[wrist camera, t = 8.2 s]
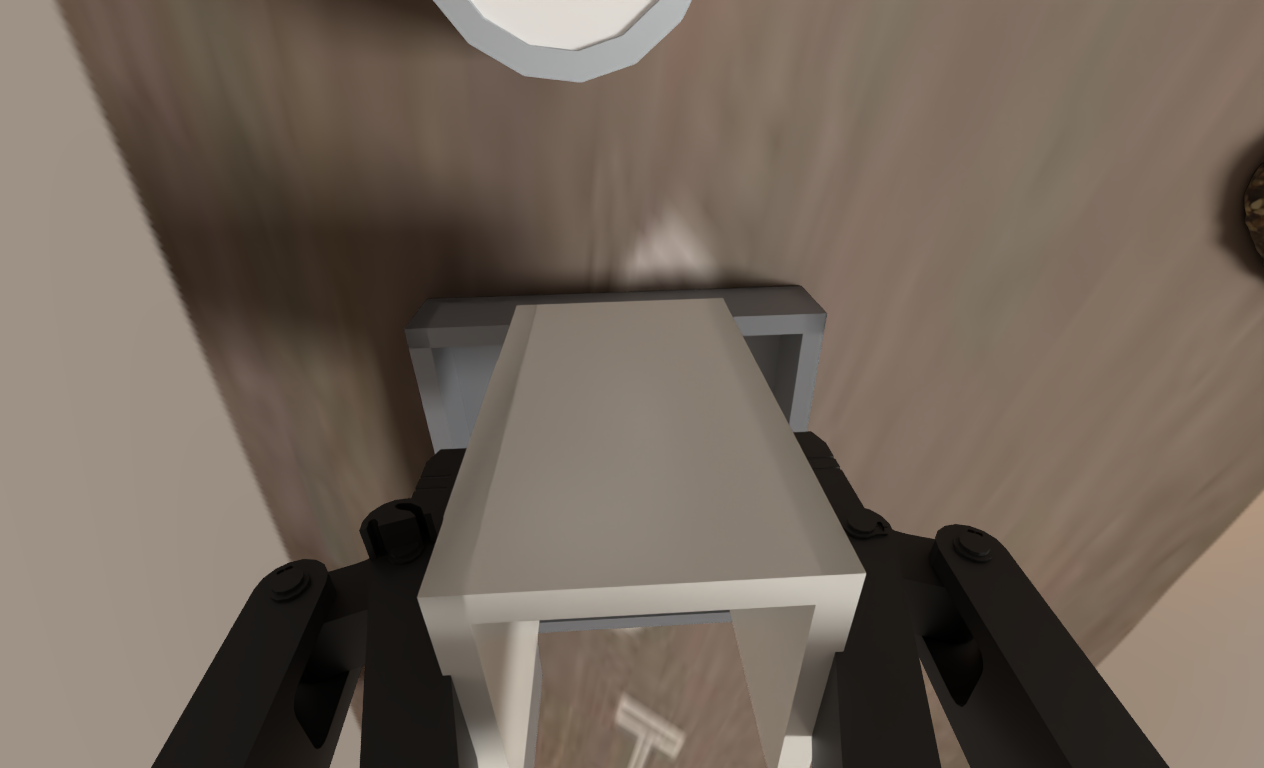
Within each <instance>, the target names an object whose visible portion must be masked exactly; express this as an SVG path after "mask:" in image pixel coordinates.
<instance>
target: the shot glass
mask: <svg viewBox="0 0 1264 768" xmlns="http://www.w3.org/2000/svg"><path fill="white" fill-rule="evenodd" d="M433 1H434V2H435V3H436V5H437V6H438V7H439V8H440V9H441V11H442V12H443V13H444V14H445V16H446V17H447V18H448V19H449V20H450V22H451V23H452V24H453V25H454V26H455V28H456V29H457V30H458V31H459V33H460V34H461V35H462V36H463V37H464V39H465V40H466V41H467V42H468V43H469V44H470V45H472V46H474V47H475V48H477V49H479V50H480V51H482V52H484V53H486V54H487V55H489V56H491V57H492V58H494V59H496V60H498V61H499V62H501V63H503V64H504V65H506V66H508V67H509V68H511V69H513V70H515V71H516V72H518V73H520V74H521V75H523V76H529V77H538V78H546V79H555V80H564V81H572V82H584V81H587V80H590V79H593V78H596V77H599V76H602V75H605V74H608V73H610V72H613V71H616V70H619V69H622V68H625V67H628V66H631V65H634V64H636V63H637V62H638V61H639V60H640V59H641V58H642V57H643V56H645V55H646V54H647V53H648V52H649V51H650V50H651V49H652V48H653V47H654V46H655V45H656V44H657V43H658V42H659V41H660V40H662V39H663V38H664V37H665V36H666V35H667V34H668V33H669V32H670V31H671V30H672V29H673V28H674V27H675V26H676V25H677V24H679V23H680V22H681V21H682V19H683V17H684V15H685V13H686V11H687V9H688V7H689V5H690V3H691V0H433Z"/></svg>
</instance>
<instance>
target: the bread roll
mask: <svg viewBox="0 0 1264 768" xmlns="http://www.w3.org/2000/svg"><path fill="white" fill-rule="evenodd" d="M1244 204H1245V211H1246V218H1245V223H1246V224H1247V226H1248V228H1249V231H1250V235H1251V237H1252V239H1253V241H1254V244H1255V247H1256V250H1257V251H1258V252H1259V254H1260V255H1261V256H1262V257H1263V258H1264V162H1263V163H1262V164H1261V165H1260V167H1259V168H1258V169H1257V171H1256V172H1255V174H1254V175H1253V177H1252V179H1251V181H1250V184H1249V186H1248V188H1247V190H1246V192H1245V195H1244ZM1263 266H1264V261H1263Z"/></svg>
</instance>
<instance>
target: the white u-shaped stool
mask: <svg viewBox="0 0 1264 768" xmlns="http://www.w3.org/2000/svg"><path fill="white" fill-rule="evenodd" d="M865 577H866V571H865V570H864V568H863V566H862V564H861V562H860V560H859V558H858V556H857V554H856V552H855V550H854V548H853V547H852V545H851V543H850V541H849V539H848V537H847V535H846V533H845V531H844V529H843V527H842V525H841V524H840V522H839V520H838V518H837V516H836V514H835V512H834V510H833V508H832V506H831V504H830V502H829V501H828V499H827V497H826V495H825V493H824V491H823V489H822V487H821V485H820V483H819V481H818V479H817V478H816V476H815V474H814V472H813V470H812V468H811V466H810V464H809V462H808V460H807V458H806V456H805V455H804V453H803V451H802V449H801V447H800V445H799V443H798V441H797V439H796V437H795V435H794V433H793V432H792V430H791V428H790V426H789V424H788V422H787V420H786V418H785V416H784V414H783V412H782V411H781V409H780V407H779V405H778V403H777V401H776V399H775V397H774V395H773V393H772V391H771V389H770V388H769V386H768V384H767V382H766V380H765V378H764V376H763V374H762V372H761V370H760V368H759V366H758V365H757V363H756V361H755V359H754V357H753V355H752V353H751V351H750V349H749V347H748V345H747V343H746V342H745V340H744V338H743V336H742V334H741V332H740V330H739V328H738V326H737V324H736V322H735V320H734V319H733V317H732V315H731V313H730V311H729V309H728V307H727V305H726V303H725V301H724V299H723V298H708V299H681V300H653V301H625V302H597V303H570V304H542V305H517V306H516V309H515V312H514V315H513V318H512V321H511V324H510V327H509V330H508V333H507V335H506V338H505V341H504V344H503V347H502V350H501V353H500V356H499V359H498V362H497V365H496V368H495V371H494V374H493V376H492V379H491V382H490V385H489V388H488V391H487V394H486V397H485V400H484V403H483V406H482V409H481V412H480V415H479V417H478V420H477V423H476V426H475V429H474V432H473V435H472V438H471V441H470V444H469V447H468V450H467V453H466V456H465V458H464V461H463V464H462V467H461V470H460V473H459V476H458V479H457V482H456V485H455V488H454V491H453V494H452V497H451V499H450V502H449V505H448V508H447V511H446V514H445V517H444V520H443V523H442V526H441V529H440V532H439V535H438V537H437V540H436V543H435V546H434V549H433V552H432V555H431V558H430V561H429V564H428V567H427V570H426V573H425V576H424V578H423V581H422V584H421V587H420V590H419V593H418V596H417V599H418V602H419V605H420V608H421V611H422V614H423V617H424V620H425V623H426V626H427V629H428V633H429V636H430V639H431V642H432V645H433V648H434V651H435V654H436V657H437V660H438V663H439V666H440V669H441V672H442V675H443V676H444V675H451V677H452V680H453V683H454V687H455V690H456V693H457V696H458V699H459V702H460V705H461V709H462V712H463V715H464V718H465V721H466V724H467V727H468V731H469V734H470V737H471V740H472V743H473V746H474V749H475V753H476V756H477V760H478V768H524V758H525V749H526V740H527V731H528V722H529V712H530V703H531V694H532V685H533V675H534V666H535V657H536V648H537V638H538V629H539V620H553V619H571V618H589V617H607V616H625V615H643V614H660V613H678V612H696V611H714V610H730V614H731V618H732V622H733V626H734V631H735V635H736V639H737V643H738V648H739V652H740V656H741V660H742V664H743V669H744V673H745V677H746V681H747V686H748V690H749V694H750V698H751V702H752V707H753V711H754V715H755V719H756V723H757V728H758V732H759V736H760V740H761V745H762V749H763V753H764V757H765V761H766V766H767V768H809V767H810V763H811V760H812V733H813V729H814V726H815V722H816V719H817V715H818V712H819V708H820V704H821V701H822V697H823V694H824V690H825V687H826V683H827V680H828V676H829V673H830V669H831V665H832V662H833V658H834V655H835V652H843V651H844V648H845V644H846V641H847V638H848V634H849V631H850V627H851V624H852V621H853V617H854V614H855V611H856V607H857V604H858V600H859V597H860V594H861V590H862V587H863V583H864V580H865Z"/></svg>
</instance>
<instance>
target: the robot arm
mask: <svg viewBox="0 0 1264 768" xmlns="http://www.w3.org/2000/svg"><path fill="white" fill-rule="evenodd" d="M497 362H498V361H497ZM497 362H496V365H497ZM496 365H495V368H496ZM495 368H494V371H495ZM494 371H493V374H494ZM493 374H492V376H493ZM492 376H491V379H492ZM491 379H490V382H491ZM490 382H489V385H490ZM489 385H488V388H489ZM488 388H487V391H488ZM487 391H486V394H487ZM486 394H485V397H486ZM485 397H484V400H485ZM484 400H483V403H484ZM483 403H482V406H483ZM482 406H481V408H480V411H479V414H478V417H479V415H480V412H481V409H482ZM478 417H477V420H478ZM477 420H476V423H477ZM476 423H475V426H476ZM475 426H474V429H475ZM474 429H473V432H474ZM473 432H472V435H473ZM793 433H794V435H795V437H796V439H797V441H798V443H799V445H800V447H801V449H802V451H803V453H804V455H805V456H806V458H807V460H808V462H809V464H810V466H811V468H812V470H813V472H814V474H815V476H816V478H817V479H818V481H819V483H820V485H821V487H822V489H823V491H824V493H825V495H826V497H827V499H828V501H829V502H830V504H831V506H832V508H833V510H834V512H835V514H836V516H837V518H838V520H839V522H840V524H841V525H842V527H843V529H844V531H845V533H846V535H847V537H848V539H849V541H850V543H851V545H852V547H853V548H854V550H855V552H856V554H857V556H858V558H859V560H860V562H861V564H862V566H863V568H864V570H865V571H866V577H865V580H864V583H863V587H862V590H861V594H860V597H859V600H858V604H857V607H856V611H855V614H854V617H853V621H852V624H851V627H850V631H849V634H848V638H847V641H846V644H845V648H844V651H843V652H835V655H834V658H833V662H832V665H831V669H830V673H829V676H828V680H827V683H826V687H825V690H824V694H823V697H822V701H821V704H820V708H819V712H818V715H817V719H816V722H815V726H814V729H813V733H812V768H941V764H940V759H939V754H938V749H937V744H936V739H935V734H934V729H933V724H932V719H931V714H930V709H929V704H928V699H927V694H926V690H925V685H924V680H923V675H922V670H921V665H920V660H921V662H922V664H923V666H924V669H925V671H926V673H927V675H928V677H929V679H930V681H931V684H932V686H933V688H934V690H935V692H936V694H937V696H938V699H939V701H940V703H941V705H942V707H943V709H944V712H945V714H946V716H947V718H948V720H949V722H950V724H951V727H952V729H953V731H954V733H955V735H956V737H957V740H958V742H959V744H960V746H961V748H962V750H963V752H964V755H965V757H966V759H967V761H968V763H969V765H970V767H971V768H1169V766H1168V765H1167V764H1166V762H1165V761H1164V760H1163V758H1162V757H1161V756H1160V754H1159V753H1158V752H1157V750H1156V749H1155V748H1154V746H1153V745H1152V744H1151V742H1150V741H1149V740H1148V738H1147V737H1146V736H1145V734H1144V733H1143V732H1142V730H1141V729H1140V727H1139V726H1138V725H1137V724H1136V722H1135V721H1134V719H1133V718H1132V717H1131V715H1130V714H1129V713H1128V711H1127V710H1126V709H1125V707H1124V706H1123V705H1122V703H1121V702H1120V701H1119V699H1118V698H1117V697H1116V695H1115V694H1114V693H1113V691H1112V690H1111V689H1110V687H1109V686H1108V685H1107V683H1106V682H1105V681H1104V679H1103V678H1102V677H1101V675H1100V674H1099V673H1098V671H1097V670H1096V669H1095V667H1094V666H1093V665H1092V663H1091V662H1090V661H1089V659H1088V658H1087V656H1086V655H1085V654H1084V652H1083V651H1082V650H1081V648H1080V647H1079V646H1078V644H1077V643H1076V642H1075V640H1074V639H1073V638H1072V636H1071V635H1070V634H1069V632H1068V631H1067V630H1066V628H1065V627H1064V626H1063V624H1062V623H1061V622H1060V620H1059V619H1058V618H1057V616H1056V615H1055V614H1054V612H1053V611H1052V610H1051V608H1050V607H1049V606H1048V604H1047V603H1046V602H1045V600H1044V599H1043V598H1042V596H1041V595H1040V594H1039V592H1038V591H1037V590H1036V588H1035V587H1034V585H1033V584H1032V583H1031V581H1030V580H1029V579H1028V577H1027V576H1026V575H1025V573H1024V572H1023V571H1022V569H1021V568H1020V567H1019V565H1018V564H1017V563H1016V561H1015V560H1014V559H1013V557H1012V556H1011V555H1010V553H1009V552H1008V551H1007V549H1006V548H1005V547H1004V546H1003V545H1002V544H1001V543H1000V542H999V541H998V540H997V539H996V538H994V537H992V536H991V535H989V534H987V533H986V532H984V531H982V530H979V529H976V528H974V527H971V526H966V525H958V524H954V525H948V526H944V527H943V528H941V529H940V530H938V531H937V534H936V537H935V539H930V538H925V537H920V536H915V535H910V534H905V533H901V532H897V531H894V530H892V528H891V526H890V524H889V523H888V522H887V521H886V520H885V519H884V518H883V517H882V516H881V515H879V514H877V513H875V512H873V511H871V510H870V509H866V508H864V507H863V505H862V503H861V501H860V500H859V498H858V496H857V495H856V493H855V491H854V490H853V488H852V486H851V485H850V483H849V481H848V480H847V478H846V476H845V474H844V473H843V471H842V470H840V466H839V464H838V463H837V461H836V459H834V456H833V454H832V453H831V451H830V449H829V447H828V446H827V444H826V443H825V442H824V441H823V440H821V439H820V438H819V437H818V436H816V435H815V434H814V433H812V432H811V431H809V432H793ZM472 435H471V438H472ZM471 438H470V440H469V443H468V446H467V448H458V449H440V450H439V451H438V452H437V453H436V454H435V455H434V456H433V457H432V458H431V459H430V460H429V461H428V462H427V463H426V466H425V468H424V470H423V473H422V475H421V479H419V482H418V484H417V486H416V491H414V493H413V496H412V498H411V499H409V498H408V499H400V500H394V501H392V502H389V503H386V504H383V505H381V506H380V507H378V508H377V509H375V510H374V511H372V512H371V513H370V514H369V515H368V516H367V517H366V518H365V519H364V520H363V522H362V525H361V528H360V530H359V531H360V534H361V537H362V539H363V542H364V544H365V547H366V550H367V552H368V555H369V559H367V560H365V561H362V562H360V563H357V564H354V565H350V566H347V567H344V568H340V569H337V570H334V571H330V572H328V571H327V569H326V567H325V564H323V563H321V562H319V561H317V560H310V559H302V560H298V561H294V562H289V563H287V564H285V565H283V566H281V567H279V568H277V569H275V570H274V571H272V572H271V573H270V574H268V575H267V576H266V577H264V578H263V579H262V580H261V581H260V583H259V584H258V585H257V586H256V588H255V589H254V590H253V592H252V594H251V595H250V597H249V599H248V601H247V602H246V604H245V606H244V608H243V609H242V611H241V613H240V614H239V616H238V618H237V620H236V621H235V623H234V625H233V627H232V628H231V630H230V632H229V634H228V636H227V637H226V639H225V640H224V642H223V644H222V646H221V647H220V649H219V651H218V653H217V654H216V656H215V658H214V660H213V662H212V663H211V665H210V667H209V668H208V670H207V672H206V673H205V675H204V677H203V679H202V681H201V682H200V684H199V686H198V687H197V689H196V691H195V693H194V694H193V696H192V698H191V699H190V701H189V703H188V705H187V707H186V708H185V710H184V712H183V713H182V715H181V717H180V718H179V720H178V722H177V724H176V725H175V727H174V729H173V731H172V732H171V734H170V736H169V738H168V740H167V741H166V743H165V744H164V747H163V748H162V750H161V752H160V753H159V755H158V757H157V758H156V760H155V762H154V764H153V765H152V767H151V768H329V767H330V764H331V761H332V758H333V755H334V752H335V749H336V746H337V743H338V740H339V736H340V733H341V730H342V727H343V723H344V721H345V718H346V715H347V711H348V709H349V706H350V702H351V699H352V696H353V693H354V690H355V687H356V684H357V681H358V678H359V675H360V672H361V668H362V666H364V665H365V675H364V695H363V714H362V733H361V753H360V768H478V760H477V756H476V753H475V749H474V746H473V743H472V740H471V737H470V734H469V731H468V727H467V724H466V721H465V718H464V715H463V712H462V709H461V705H460V702H459V699H458V696H457V693H456V690H455V687H454V683H453V680H452V677H451V675H444V676H443V675H442V672H441V669H440V666H439V663H438V660H437V657H436V654H435V651H434V648H433V645H432V642H431V639H430V636H429V633H428V629H427V626H426V623H425V620H424V617H423V614H422V611H421V608H420V605H419V602H418V599H417V596H418V593H419V590H420V587H421V584H422V581H423V578H424V576H425V573H426V570H427V567H428V564H429V561H430V558H431V555H432V552H433V549H434V546H435V543H436V540H437V537H438V535H439V532H440V529H441V526H442V523H443V520H444V517H445V514H446V511H447V508H448V505H449V502H450V499H451V497H452V494H453V491H454V488H455V485H456V482H457V479H458V476H459V473H460V470H461V467H462V464H463V461H464V458H465V456H466V453H467V450H468V447H469V444H470V441H471ZM919 658H920V660H919Z"/></svg>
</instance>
